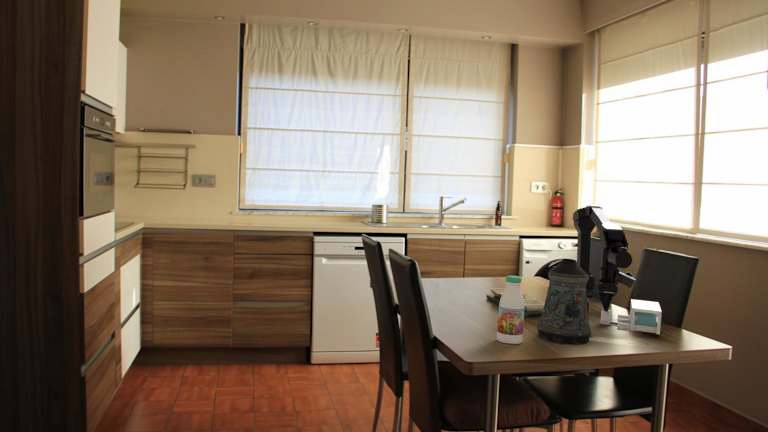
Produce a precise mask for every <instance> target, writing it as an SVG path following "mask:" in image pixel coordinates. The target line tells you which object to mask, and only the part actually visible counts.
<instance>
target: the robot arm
mask: <svg viewBox="0 0 768 432" xmlns="http://www.w3.org/2000/svg"><path fill="white" fill-rule="evenodd" d="M572 220H573V221H572V222H573V226H574V228H575V230H576V232H577V248H576V249H577V253H576V262H577V264H578V265H579V266H580V267H581V268H582V269H583V270H584V271H585V272H586V273H587V275H588V276H589V279H588V282H587V283H586V296H587V312H590V301H589V299H593V298H594V294H595V290H596V285H595V279H596V278H595V275H592V273H591V269H590V268H591V245H592V239H591V238H592V232H593V230H595V228H597V229H598V231H599V233H598V238H599V241H600V242H601V246H600V249H601V260H600V274H599V279H598V280H599V282H598V286H597V293H598V295H599V299H600V302H601V304H602V309H604V311H608V310H610V305H611V302H612V298H613V297H614V296H616V295H617V294H618V291H619V290H618V289H619V286H618V285H619V283H620V284H621V285H624V286H626V287H627V288H629V289H632V288H633V286H634V285H635V282H636V278H635V277H633V276H632V272H629V271H627V272H625V273H624V272H621V271H620V269H627V268H629V267H630V266H631V265H632V263H633V257H632V255H631V253H630V252H628V249H629V243H628V239H627V237H626V234H625V232H624V229H622V228H621V226H619V225H617V224H615V223H613V222H612V221H611V220H610V218H608V216H607V215H606V213H605V211H604V210H603V207H602V206H600V205H596V204H595V205H594V204H593V205H592V204H590V205H585V207H581V208H578V209H576V210H575V211H574V212H573V213H572Z"/></svg>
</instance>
